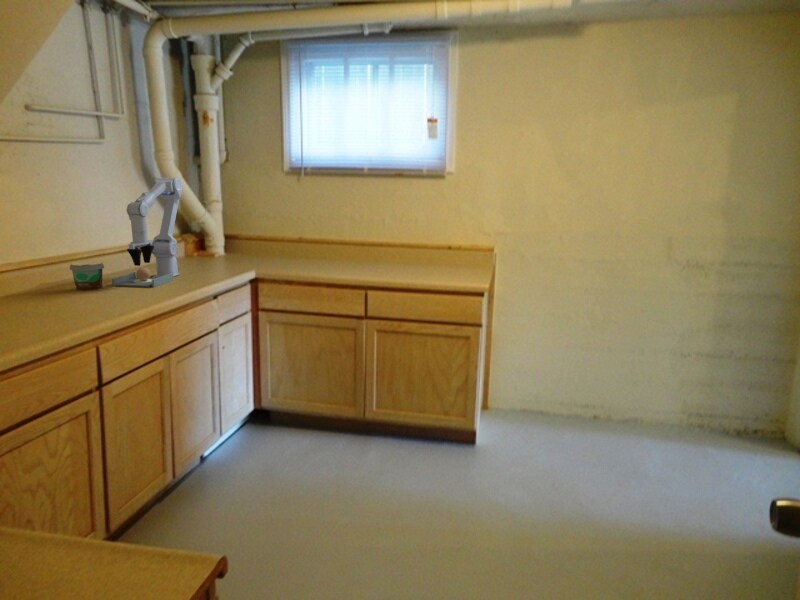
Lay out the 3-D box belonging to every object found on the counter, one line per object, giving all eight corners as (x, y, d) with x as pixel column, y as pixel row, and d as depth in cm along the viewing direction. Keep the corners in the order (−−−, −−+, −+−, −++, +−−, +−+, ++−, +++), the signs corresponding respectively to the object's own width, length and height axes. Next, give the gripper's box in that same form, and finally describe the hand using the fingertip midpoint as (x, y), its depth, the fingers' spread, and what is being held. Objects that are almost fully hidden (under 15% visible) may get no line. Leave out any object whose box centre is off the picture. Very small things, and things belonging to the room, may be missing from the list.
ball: (142, 280, 247) (142, 267, 246) (153, 280, 245) (153, 267, 244) (133, 280, 241) (133, 267, 241) (144, 281, 240) (144, 268, 239)
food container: (68, 291, 225) (65, 266, 223) (72, 288, 231) (69, 263, 228) (102, 290, 228) (100, 265, 226) (106, 287, 234) (103, 262, 232)
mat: (139, 278, 253) (139, 276, 253) (170, 279, 251) (169, 277, 251) (115, 286, 235) (115, 284, 235) (148, 287, 234) (148, 285, 234)
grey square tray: (133, 278, 252) (133, 272, 251) (173, 280, 250) (172, 273, 250) (112, 285, 237) (111, 278, 236) (154, 287, 235) (153, 279, 234)
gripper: (139, 229, 246) (142, 261, 249) (120, 233, 232) (123, 266, 235) (155, 230, 245) (158, 261, 248) (136, 233, 231) (139, 267, 234)
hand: (142, 264), depth 242 cm, fingers open, 7 cm apart
